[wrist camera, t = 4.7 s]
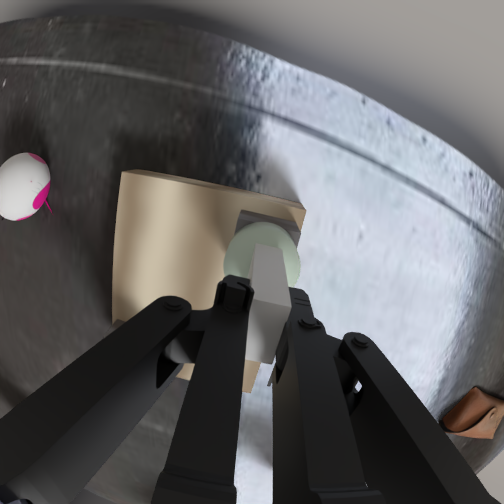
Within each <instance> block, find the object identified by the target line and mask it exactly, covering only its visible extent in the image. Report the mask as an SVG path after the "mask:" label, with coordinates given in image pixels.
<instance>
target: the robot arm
mask: <svg viewBox="0 0 504 504" xmlns="http://www.w3.org/2000/svg"><path fill="white" fill-rule="evenodd" d="M275 355H276V363H275V366H274V368H273V371H272V374H271V377H270V379H269V382H268V385H267V386H270V385H271V383H272V393H273V504H501V503H500V502H498V501H497V500H496V499H495V498H493V497H492V496H491V495H489V493H488V492H487V490H486V489H485V488H484V486H483V484H482V483H481V482H480V480H479V479H478V477H477V476H476V474H475V473H474V472H473V470H472V469H471V467H470V466H469V465H468V463H467V462H466V460H465V459H464V458H463V456H462V455H461V454H460V452H459V451H458V449H457V448H456V447H455V445H454V444H453V443H452V441H451V440H450V439H449V437H448V436H447V435H446V433H445V432H444V431H443V429H442V428H441V427H440V425H439V424H438V423H437V421H436V420H435V419H434V417H433V416H432V415H431V414H430V412H429V411H428V410H427V408H426V407H425V406H424V404H423V403H422V402H421V401H420V399H419V398H418V397H417V395H416V394H415V393H414V392H413V390H412V389H411V388H410V387H409V385H408V384H407V383H406V381H405V380H404V379H403V378H402V376H401V375H400V374H399V373H398V371H397V370H396V369H395V368H394V366H393V365H392V364H391V363H390V361H389V360H388V359H387V358H386V357H385V355H384V354H383V353H382V352H381V350H380V349H379V348H378V347H377V345H376V344H375V343H374V342H373V341H372V340H371V339H370V338H368V337H367V336H365V335H364V334H361V333H356V332H349V333H346V334H345V335H344V337H343V339H342V340H340V339H337V338H335V337H332V336H330V335H327V334H326V331H325V327H324V325H323V324H322V322H320V321H319V320H318V319H316V318H314V315H313V311H312V307H311V304H310V300H309V297H308V295H307V294H306V293H305V292H304V291H303V290H302V289H297V288H293V287H288V281H287V275H286V269H285V263H284V257H283V251H282V249H280V248H276V247H271V246H267V245H263V244H258V243H256V244H255V248H254V252H253V256H252V260H251V264H250V269H249V273H248V277H247V278H243V277H239V276H235V275H230V274H229V275H227V276H225V277H224V278H223V280H222V281H220V282H219V283H218V284H217V289H216V294H215V299H214V304H213V307H211V308H209V309H205V310H192V306H191V304H190V303H189V302H188V301H187V300H185V299H183V298H181V297H177V296H172V295H169V296H162V297H160V298H157V299H156V300H155V301H153V302H152V303H151V304H149V305H148V306H146V307H145V308H144V309H142V310H141V311H140V312H138V313H137V314H136V315H134V316H133V317H132V318H130V319H129V320H128V321H126V322H125V323H124V324H122V325H121V326H120V327H118V328H117V329H116V330H114V331H113V332H112V333H110V334H109V335H108V336H106V337H105V338H104V339H102V340H101V341H100V342H98V343H97V344H96V345H95V346H93V347H92V348H91V349H89V350H88V351H87V352H85V353H84V354H83V355H81V356H80V357H79V358H77V359H76V360H75V361H74V362H72V363H71V364H70V365H68V366H67V367H66V368H64V369H63V370H62V371H61V372H59V373H58V374H57V375H55V376H54V377H53V378H52V379H50V380H49V381H48V382H46V383H45V384H44V385H43V386H41V387H40V388H39V389H37V390H36V391H35V392H34V393H32V394H31V395H30V396H29V397H27V398H26V399H25V400H23V401H22V402H21V403H20V404H18V405H17V406H16V407H15V408H13V409H12V410H11V411H10V412H8V413H7V414H6V415H5V416H3V417H2V418H1V419H0V504H70V503H71V502H72V500H73V499H74V498H75V497H76V496H77V495H78V493H79V492H80V491H81V490H82V489H83V488H84V487H85V485H86V484H87V483H88V482H89V481H90V480H91V478H92V477H93V476H94V475H95V474H96V473H97V471H98V470H99V469H100V468H101V467H102V465H103V464H104V463H105V462H106V461H107V460H108V458H109V457H110V456H111V455H112V454H113V452H114V451H115V450H116V449H117V448H118V446H119V445H120V444H121V443H122V442H123V440H124V439H125V438H126V437H127V436H128V434H129V433H130V432H131V431H132V430H133V428H134V427H135V426H136V425H137V424H138V422H139V421H140V420H141V419H142V418H143V416H144V415H145V414H146V413H147V411H148V410H149V409H150V408H151V407H152V405H153V404H154V403H155V402H156V400H157V399H158V398H159V397H160V396H161V394H162V393H163V392H164V391H165V389H166V388H167V387H168V386H169V384H170V383H171V382H172V381H173V380H174V378H175V377H176V376H177V375H178V373H179V372H180V371H181V370H182V368H183V366H184V363H189V364H195V365H194V368H193V372H192V375H191V378H190V381H189V385H188V388H187V391H186V395H185V398H184V402H183V405H182V408H181V412H180V415H179V419H178V422H177V425H176V429H175V432H174V436H173V439H172V443H171V446H170V450H169V453H168V457H167V460H166V464H165V467H164V469H163V471H162V472H161V473H160V475H159V477H158V481H157V484H156V487H155V491H154V494H153V498H152V501H151V504H236V499H237V491H236V487H235V486H234V472H235V461H236V451H237V440H238V430H239V419H240V409H241V398H242V387H243V376H244V366H245V359H246V360H251V361H256V362H261V363H266V364H272V363H273V360H274V358H275ZM358 381H359V382H360V383H361V385H362V388H361V389H360V391H359V392H358V391H357V390H356V388H355V386H356V384H357V383H358ZM365 482H366V483H365ZM366 484H367V485H366ZM367 486H368V487H367Z"/></svg>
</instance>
